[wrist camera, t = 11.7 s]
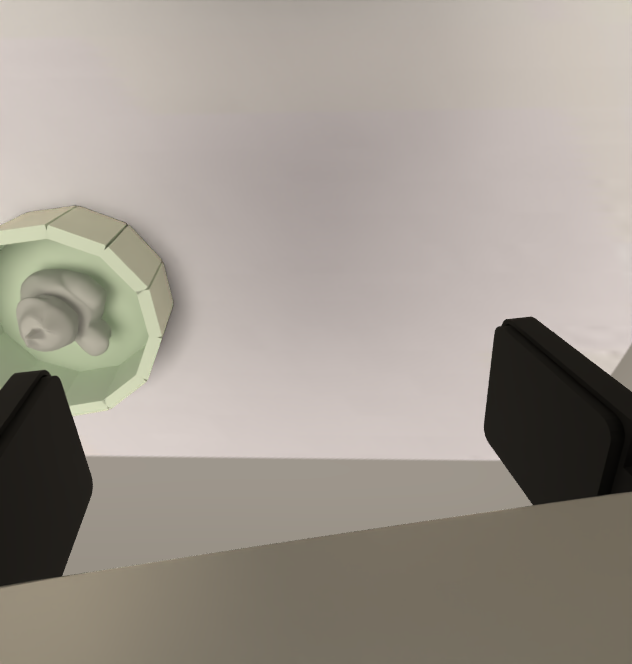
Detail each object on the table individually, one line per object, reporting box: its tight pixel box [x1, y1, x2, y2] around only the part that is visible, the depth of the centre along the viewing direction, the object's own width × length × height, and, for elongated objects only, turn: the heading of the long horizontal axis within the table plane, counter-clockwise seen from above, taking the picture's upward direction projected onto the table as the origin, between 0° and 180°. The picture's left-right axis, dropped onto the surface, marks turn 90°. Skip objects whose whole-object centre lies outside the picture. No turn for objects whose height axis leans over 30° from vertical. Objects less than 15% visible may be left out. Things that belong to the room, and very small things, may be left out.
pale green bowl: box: [0, 206, 173, 416], centre depth 34 cm, size 13×13×6 cm
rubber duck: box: [16, 269, 111, 356], centre depth 32 cm, size 5×7×8 cm
